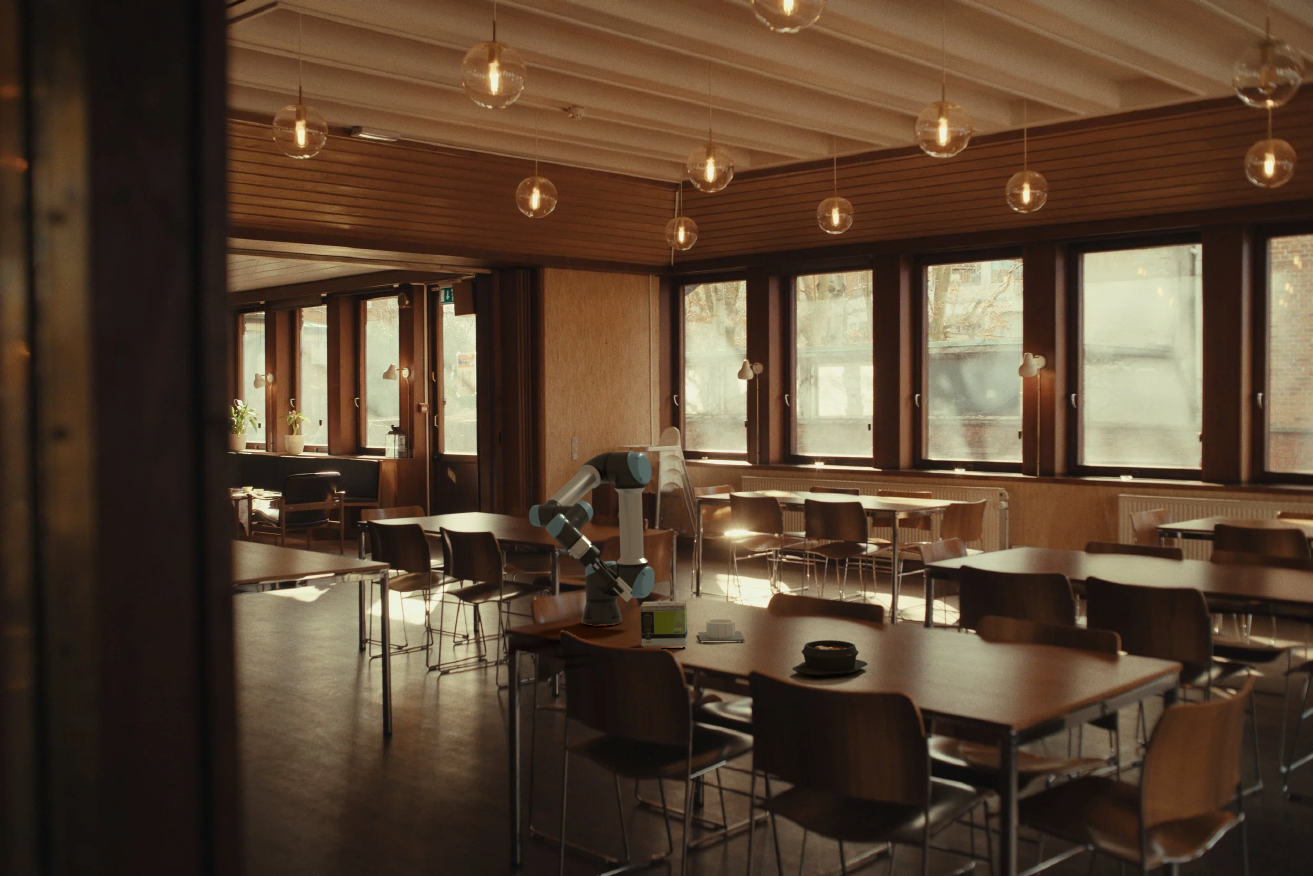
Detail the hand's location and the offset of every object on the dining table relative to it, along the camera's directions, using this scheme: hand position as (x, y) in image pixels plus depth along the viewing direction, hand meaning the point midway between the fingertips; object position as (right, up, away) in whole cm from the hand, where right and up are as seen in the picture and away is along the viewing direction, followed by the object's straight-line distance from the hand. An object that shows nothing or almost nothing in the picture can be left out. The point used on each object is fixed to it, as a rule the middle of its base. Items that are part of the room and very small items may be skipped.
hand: (629, 596), depth 383 cm
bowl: (+31, -17, +13) cm, 38 cm away
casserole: (+61, -17, -42) cm, 76 cm away
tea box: (+12, -17, +2) cm, 21 cm away
